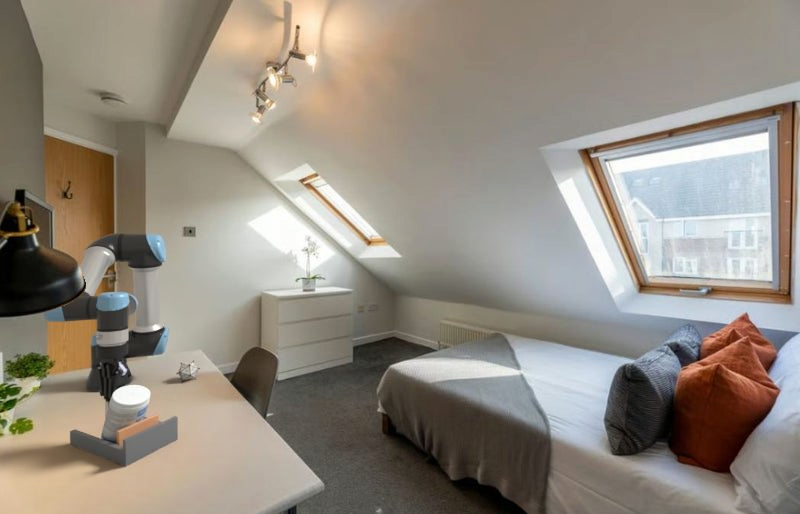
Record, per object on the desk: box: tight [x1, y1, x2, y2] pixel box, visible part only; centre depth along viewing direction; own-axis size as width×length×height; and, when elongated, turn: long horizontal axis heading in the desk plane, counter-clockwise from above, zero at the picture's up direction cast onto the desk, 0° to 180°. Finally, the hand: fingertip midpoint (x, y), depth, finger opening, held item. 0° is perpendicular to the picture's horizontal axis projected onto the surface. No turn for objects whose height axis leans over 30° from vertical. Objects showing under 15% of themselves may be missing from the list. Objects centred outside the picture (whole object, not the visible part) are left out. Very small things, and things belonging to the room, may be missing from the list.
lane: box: [69, 415, 179, 467], centre depth 105 cm, size 26×14×7 cm, turn 68°
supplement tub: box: [100, 384, 151, 444], centre depth 104 cm, size 10×10×15 cm
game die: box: [175, 360, 201, 383], centre depth 154 cm, size 9×8×10 cm
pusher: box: [117, 414, 160, 447], centre depth 102 cm, size 4×11×7 cm, turn 158°
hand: (111, 419), depth 107 cm, fingers closed
